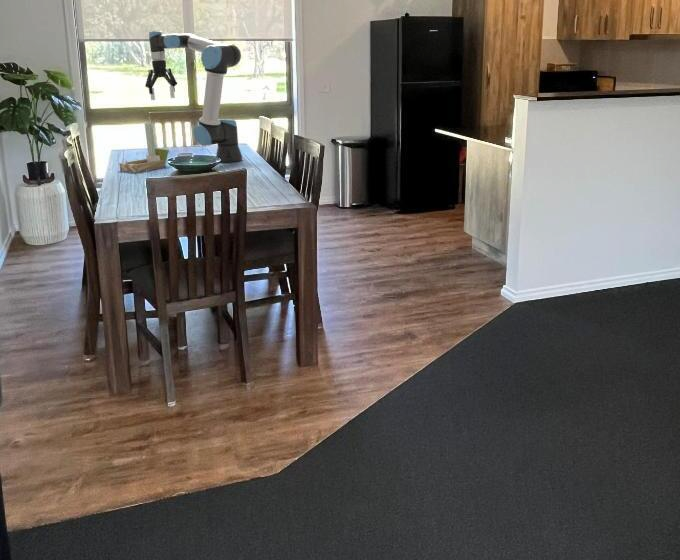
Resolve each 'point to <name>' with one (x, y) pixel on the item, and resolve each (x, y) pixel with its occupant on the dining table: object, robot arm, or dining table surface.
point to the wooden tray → (141, 165)
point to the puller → (150, 144)
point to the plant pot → (162, 154)
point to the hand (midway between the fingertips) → (163, 99)
